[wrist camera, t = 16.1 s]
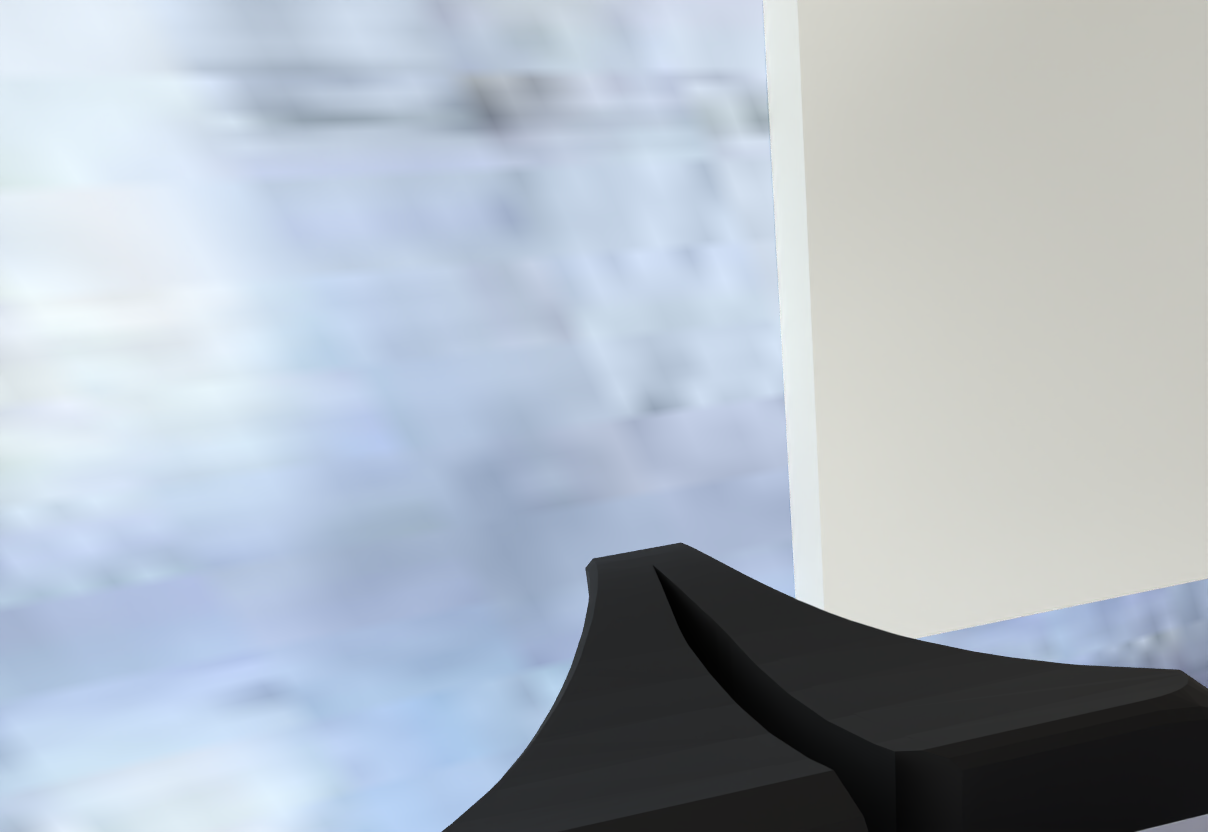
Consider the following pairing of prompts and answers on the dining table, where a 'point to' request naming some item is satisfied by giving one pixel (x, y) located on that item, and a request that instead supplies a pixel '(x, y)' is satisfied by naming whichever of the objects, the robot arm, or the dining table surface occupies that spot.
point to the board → (991, 302)
